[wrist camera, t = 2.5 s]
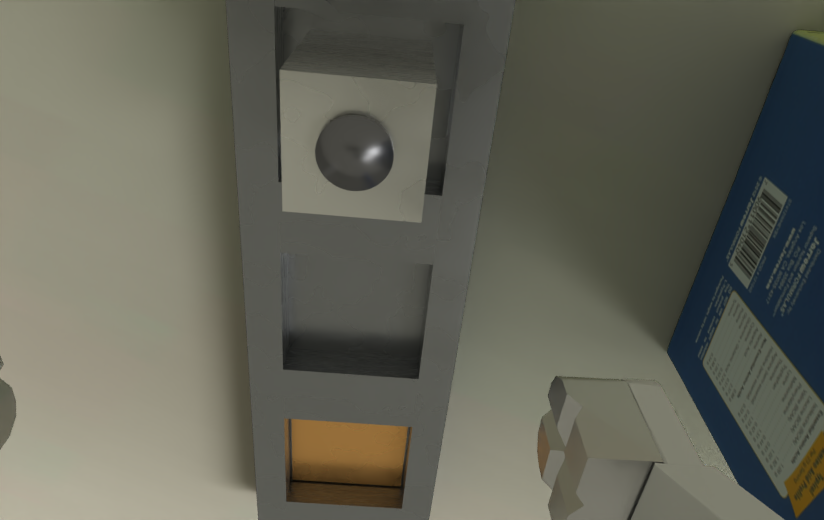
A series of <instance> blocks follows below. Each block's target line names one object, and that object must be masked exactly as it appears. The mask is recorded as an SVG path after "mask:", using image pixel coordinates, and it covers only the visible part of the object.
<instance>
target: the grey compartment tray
mask: <svg viewBox="0 0 824 520" xmlns="http://www.w3.org/2000/svg"><path fill="white" fill-rule="evenodd" d="M515 1H516V0H226V14H227V30H228V46H229V62H230V78H231V94H232V110H233V126H234V142H235V157H236V173H237V189H238V205H239V221H240V237H241V253H242V269H243V285H244V301H245V317H246V333H247V349H248V365H249V380H250V396H251V412H252V428H253V444H254V460H255V476H256V492H257V508H258V520H429V516H430V510H431V504H432V498H433V492H434V486H435V480H436V474H437V468H438V462H439V456H440V451H441V445H442V439H443V433H444V427H445V421H446V415H447V409H448V403H449V397H450V391H451V385H452V379H453V373H454V367H455V361H456V355H457V349H458V343H459V337H460V331H461V325H462V319H463V313H464V307H465V301H466V295H467V289H468V283H469V277H470V271H471V265H472V259H473V253H474V247H475V241H476V235H477V229H478V223H479V217H480V211H481V205H482V199H483V193H484V187H485V181H486V175H487V169H488V163H489V157H490V151H491V145H492V139H493V133H494V127H495V121H496V115H497V109H498V103H499V97H500V91H501V85H502V79H503V73H504V67H505V61H506V55H507V49H508V43H509V37H510V31H511V25H512V19H513V13H514V7H515ZM309 30H318V31H328V32H339V33H349V34H360V35H370V36H381V37H391V38H402V39H412V40H422V41H432V48H433V56H434V64H435V73H436V81H437V88H436V97H435V106H434V115H433V124H432V133H431V142H430V151H429V160H428V168H427V177H426V186H425V195H424V204H423V213H422V222H421V223H418V222H406V221H394V220H382V219H370V218H358V217H345V216H333V215H321V214H309V213H297V212H285V211H282V167H281V120H280V74H279V70H280V68H281V67H282V66H283V64H284V63H285V62H286V60H287V59H288V58H289V56H290V55H291V54H292V53H293V51H294V50H295V49H296V47H297V46H298V45H299V43H300V42H301V41H302V39H303V38H304V37H305V35H306V34H307V33H308V31H309Z"/></svg>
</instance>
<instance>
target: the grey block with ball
mask: <svg viewBox="0 0 824 520" xmlns="http://www.w3.org/2000/svg"><path fill="white" fill-rule="evenodd" d="M279 74H280V120H281V167H282V211H285V212H297V213H309V214H321V215H333V216H345V217H358V218H370V219H382V220H394V221H406V222H418V223H421V222H422V213H423V204H424V195H425V186H426V177H427V168H428V160H429V151H430V142H431V133H432V124H433V115H434V106H435V97H436V88H437V81H436V73H435V64H434V56H433V48H432V41H422V40H412V39H402V38H391V37H381V36H370V35H360V34H349V33H339V32H328V31H318V30H309V31H308V33H307V34H306V35H305V37H304V38H303V39H302V41H301V42H300V43H299V45H298V46H297V47H296V49H295V50H294V51H293V53H292V54H291V55H290V56H289V58H288V59H287V60H286V62H285V63H284V64H283V66H282V67H281V68H280V70H279Z"/></svg>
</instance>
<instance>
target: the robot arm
mask: <svg viewBox="0 0 824 520" xmlns="http://www.w3.org/2000/svg"><path fill="white" fill-rule="evenodd" d="M3 365H4V364H3V361H2V359H1V356H0V370H1V368H2V367H3ZM548 398H549V401H550V405H551V409H552V410H550V411H549V412H548V413H547V414H545V415H544V416H543V417H542V420H541V424H540V428H539V432H538V449H537V452H538V462H539V468H540V473H541V477H542V480H543V481H544V482H545V483H546V484H547V485H548V486H549V487H550V488H551V489H552V494H551V497H550V500H549V504H548V507H549V511H550V515H551V519H552V520H784V519H783V518H782V517H780V516H779V515H778V514H776V513H775V512H774V511H772V510H771V509H770V508H768V507H767V506H766V505H765V504H763V503H762V502H761V501H759V500H758V499H757V498H755V497H754V496H753V495H751V494H750V493H749V492H747V491H746V490H745V489H743V488H742V487H741V486H739V485H738V484H737V483H735V482H734V481H733V480H732V479H730V478H729V477H728V476H726V475H725V474H724V473H722V472H721V471H720V470H718V469H717V468H716V467H714V466H704V465H703V463H702V461H701V459H700V457H699V455H698V454H697V452H696V450H695V448H694V446H693V444H692V442H691V440H690V439H689V437H688V435H687V433H686V431H685V429H684V427H683V425H682V424H681V422H680V420H679V418H678V416H677V414H676V412H675V410H674V409H673V407H672V405H671V403H670V401H669V399H668V397H667V396H666V394H665V392H664V390H663V388H662V386H661V385H660V384H659V383H658V382H656V381H655V380H638V379H621V380H619V379H603V378H584V377H565V376H556V377H555V378H554V380H553V382H552V383H551V387H550V390H549V394H548ZM15 418H16V399H15V396H14V393H13V390H12V388H11V387H10V386H9V385H8V384H7V383H5V382H4V381H3V380H2V379H1V378H0V449H1V448H2V446H3V445H4V443H5V442H6V441H7V439H8V438H9V436H10V434H11V430H12V427H13V424H14V421H15Z"/></svg>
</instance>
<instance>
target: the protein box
mask: <svg viewBox="0 0 824 520" xmlns="http://www.w3.org/2000/svg"><path fill="white" fill-rule="evenodd" d="M667 353H668V355H669V357H670V359H671V361H672V362H673V364H674V366H675V368H676V370H677V371H678V373H679V375H680V377H681V379H682V380H683V382H684V384H685V386H686V388H687V390H688V392H689V394H690V396H691V397H692V399H693V401H694V403H695V405H696V407H697V409H698V410H699V412H700V414H701V416H702V418H703V420H704V422H705V423H706V425H707V427H708V429H709V431H710V433H711V435H712V436H713V438H714V440H715V442H716V444H717V445H718V447H719V449H720V451H721V453H722V455H723V456H724V458H725V460H726V462H727V464H728V466H729V468H730V469H731V471H732V473H733V475H734V477H735V479H736V481H737V482H738V484H739V486H741V487H742V488H743V489H745V490H746V491H747V492H749V493H750V494H751V495H753V496H754V497H755V498H757V499H758V500H759V501H761V502H762V503H763V504H765V505H766V506H767V507H768V508H770V509H771V510H772V511H774V512H775V513H776V514H778V515H779V516H780V517H782V518H783V519H784V520H824V32H817V31H806V30H797V31H794V32H793V33H792V35H791V37H790V40H789V42H788V45H787V48H786V50H785V53H784V56H783V58H782V61H781V63H780V65H779V68H778V71H777V74H776V76H775V78H774V81H773V83H772V86H771V88H770V91H769V94H768V96H767V99H766V101H765V104H764V107H763V109H762V112H761V114H760V117H759V119H758V122H757V124H756V127H755V129H754V132H753V135H752V137H751V140H750V142H749V145H748V147H747V150H746V152H745V155H744V158H743V160H742V163H741V165H740V168H739V170H738V173H737V176H736V179H735V181H734V183H733V186H732V188H731V190H730V193H729V195H728V198H727V201H726V203H725V206H724V208H723V210H722V213H721V215H720V218H719V221H718V223H717V225H716V228H715V230H714V233H713V235H712V238H711V240H710V243H709V245H708V248H707V250H706V253H705V256H704V258H703V261H702V263H701V266H700V268H699V271H698V273H697V276H696V278H695V281H694V284H693V286H692V288H691V291H690V293H689V296H688V298H687V301H686V303H685V306H684V308H683V311H682V313H681V316H680V319H679V321H678V324H677V326H676V329H675V331H674V334H673V337H672V339H671V341H670V344H669V347H668V350H667Z"/></svg>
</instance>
